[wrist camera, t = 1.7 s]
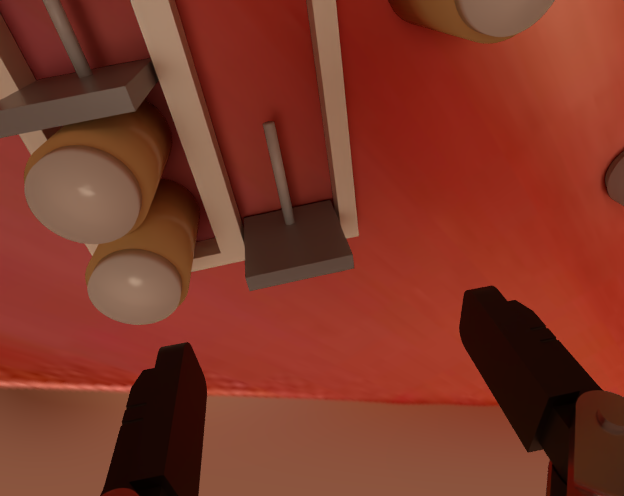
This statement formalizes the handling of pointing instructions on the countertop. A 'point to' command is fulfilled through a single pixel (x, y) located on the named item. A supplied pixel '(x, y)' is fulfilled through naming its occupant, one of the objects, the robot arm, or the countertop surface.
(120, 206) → the jar
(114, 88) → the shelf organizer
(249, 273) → the pusher
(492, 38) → the jar
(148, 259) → the jar
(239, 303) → the countertop surface
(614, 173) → the energy drink can
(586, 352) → the countertop surface
